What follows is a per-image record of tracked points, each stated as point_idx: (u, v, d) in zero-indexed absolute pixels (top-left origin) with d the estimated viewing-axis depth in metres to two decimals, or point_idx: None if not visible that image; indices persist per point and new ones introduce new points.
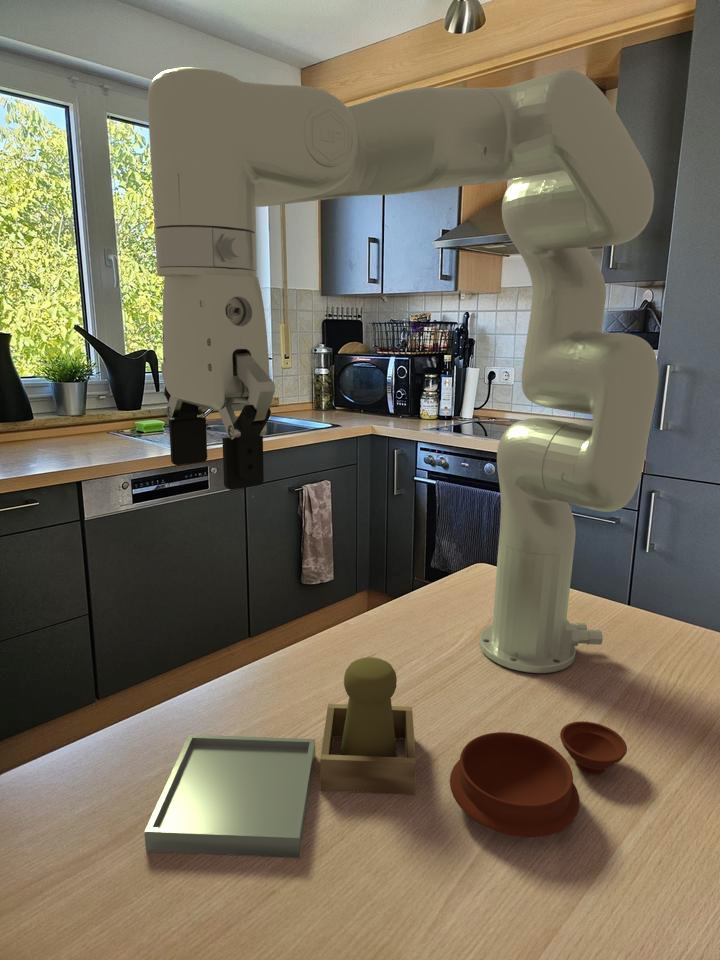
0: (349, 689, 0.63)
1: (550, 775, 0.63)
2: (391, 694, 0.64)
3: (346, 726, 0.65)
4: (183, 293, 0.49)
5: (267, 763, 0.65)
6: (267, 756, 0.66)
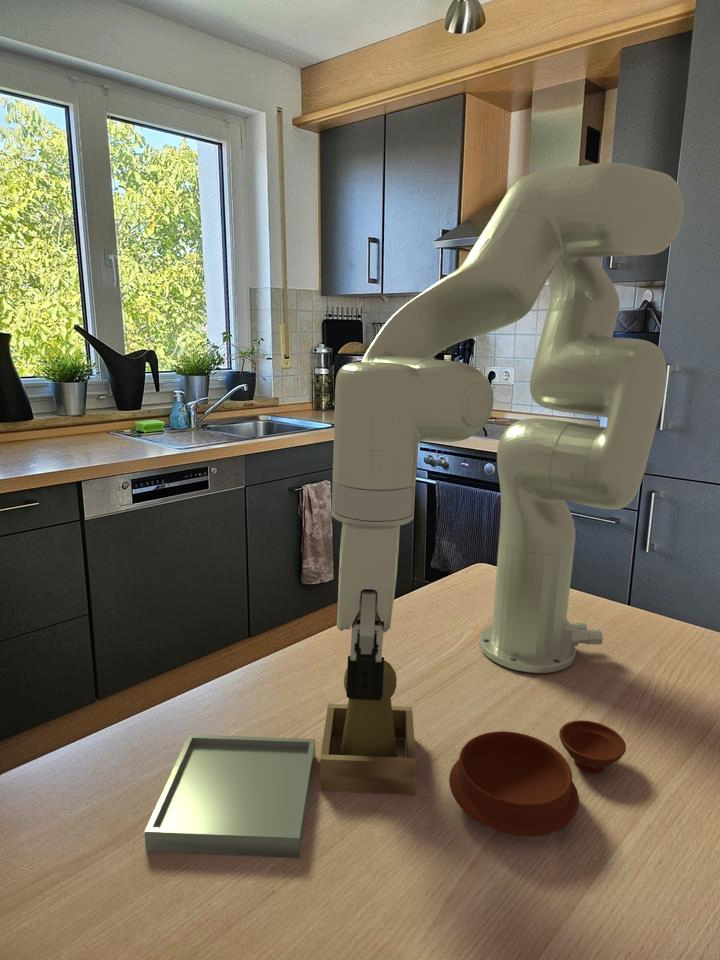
0: None
1: (549, 774, 0.63)
2: (391, 694, 0.64)
3: (346, 726, 0.65)
4: None
5: (267, 763, 0.65)
6: (267, 756, 0.66)
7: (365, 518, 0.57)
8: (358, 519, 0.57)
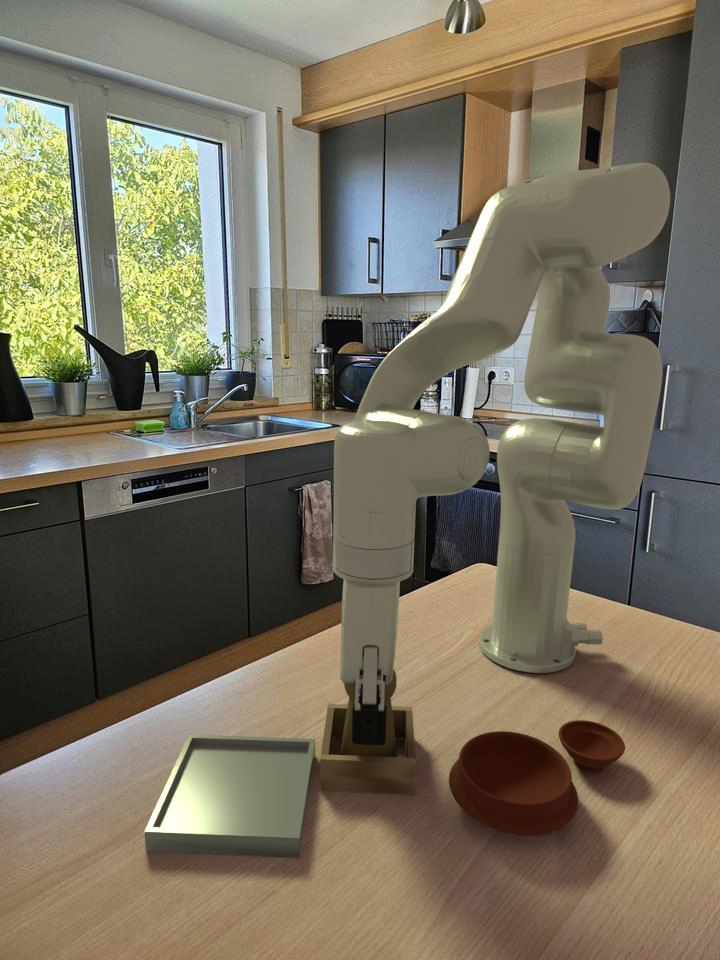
0: (349, 689, 0.63)
1: (549, 774, 0.63)
2: (391, 694, 0.64)
3: (346, 726, 0.65)
4: None
5: (267, 763, 0.65)
6: (267, 756, 0.66)
7: (366, 576, 0.58)
8: (359, 577, 0.58)
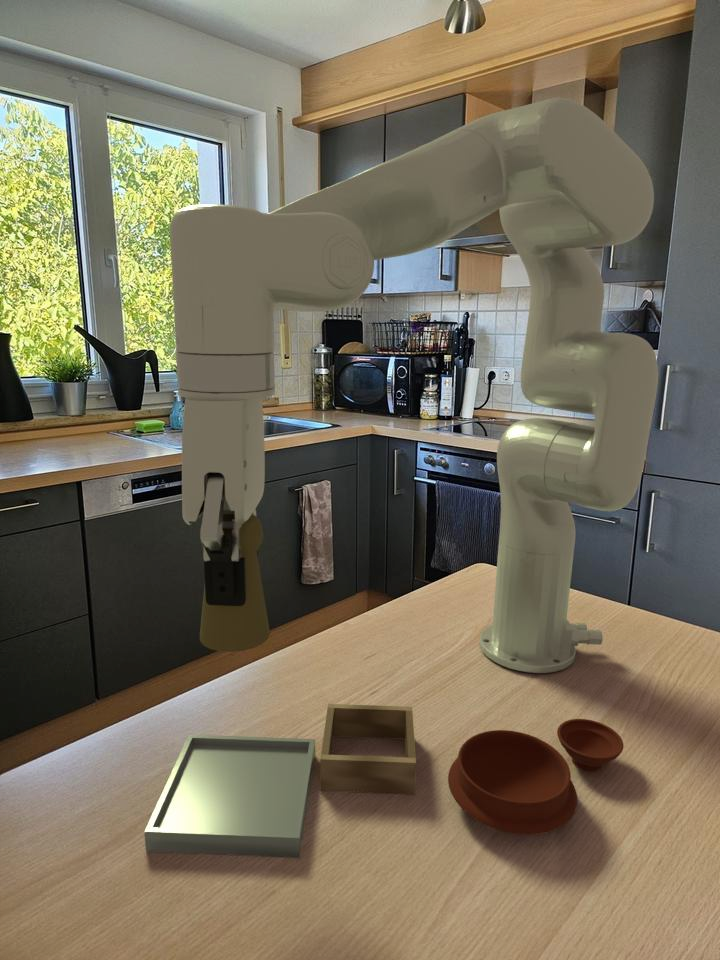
0: None
1: (548, 772, 0.63)
2: (253, 547, 0.54)
3: (204, 589, 0.56)
4: (261, 408, 0.53)
5: (267, 763, 0.65)
6: (267, 756, 0.66)
7: (207, 389, 0.49)
8: (200, 391, 0.49)
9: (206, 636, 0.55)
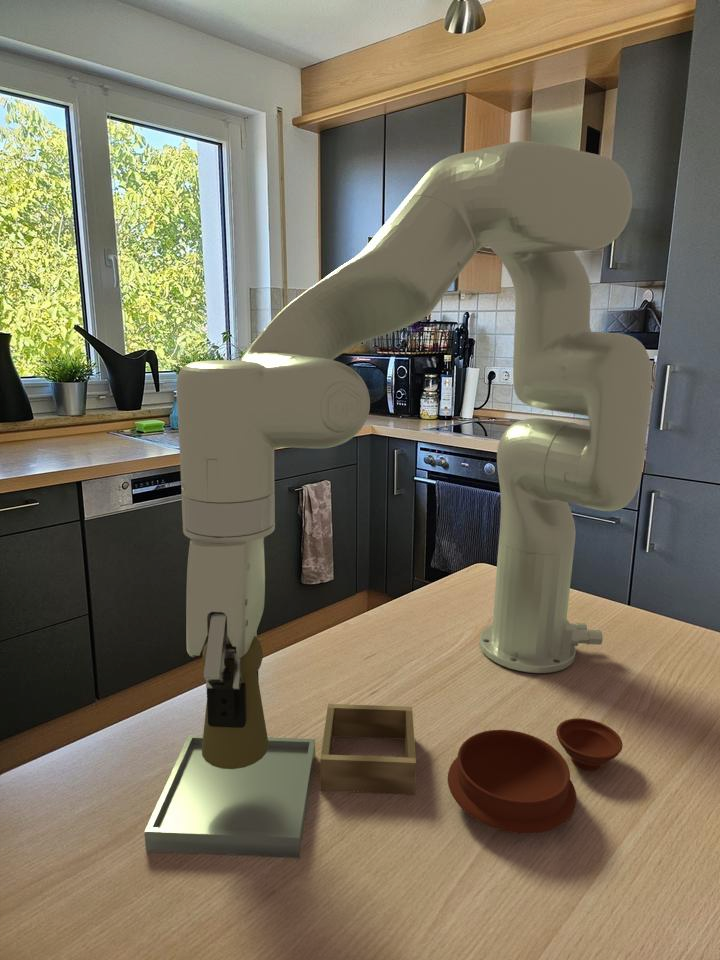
0: None
1: (547, 772, 0.63)
2: (253, 670, 0.57)
3: (206, 707, 0.58)
4: (261, 540, 0.56)
5: (267, 763, 0.65)
6: (267, 756, 0.66)
7: (211, 534, 0.51)
8: (204, 535, 0.51)
9: (208, 752, 0.58)
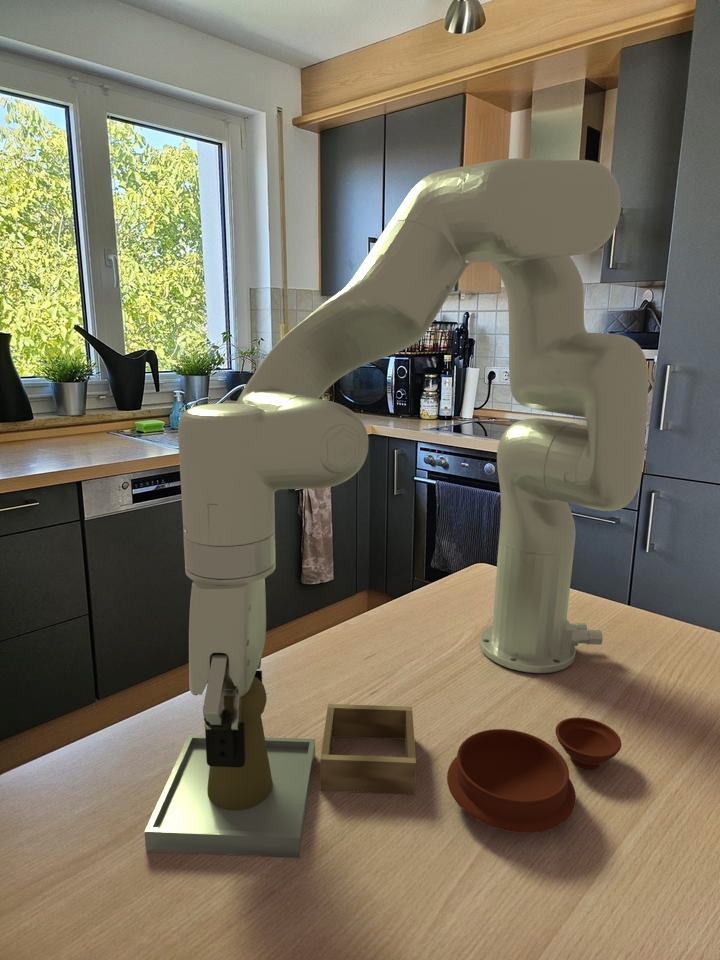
0: None
1: (546, 771, 0.63)
2: (257, 714, 0.58)
3: None
4: (262, 578, 0.57)
5: None
6: None
7: (213, 576, 0.52)
8: (206, 577, 0.52)
9: (214, 794, 0.59)
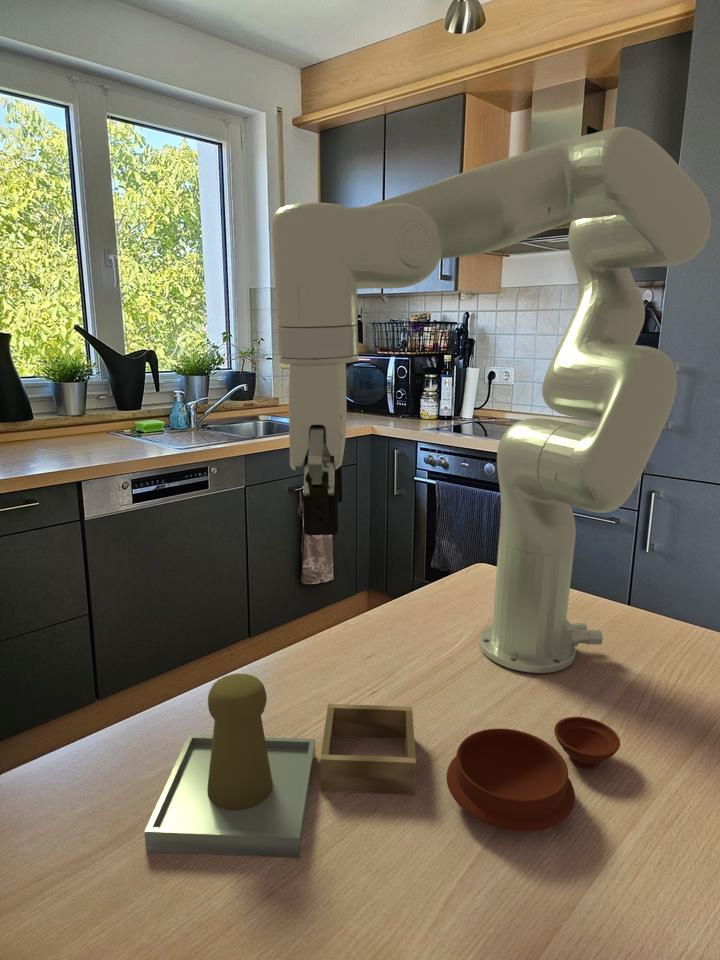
0: (211, 710, 0.58)
1: (545, 770, 0.63)
2: (258, 714, 0.58)
3: (212, 749, 0.60)
4: None
5: None
6: None
7: (309, 356, 0.59)
8: (302, 358, 0.59)
9: (214, 794, 0.59)
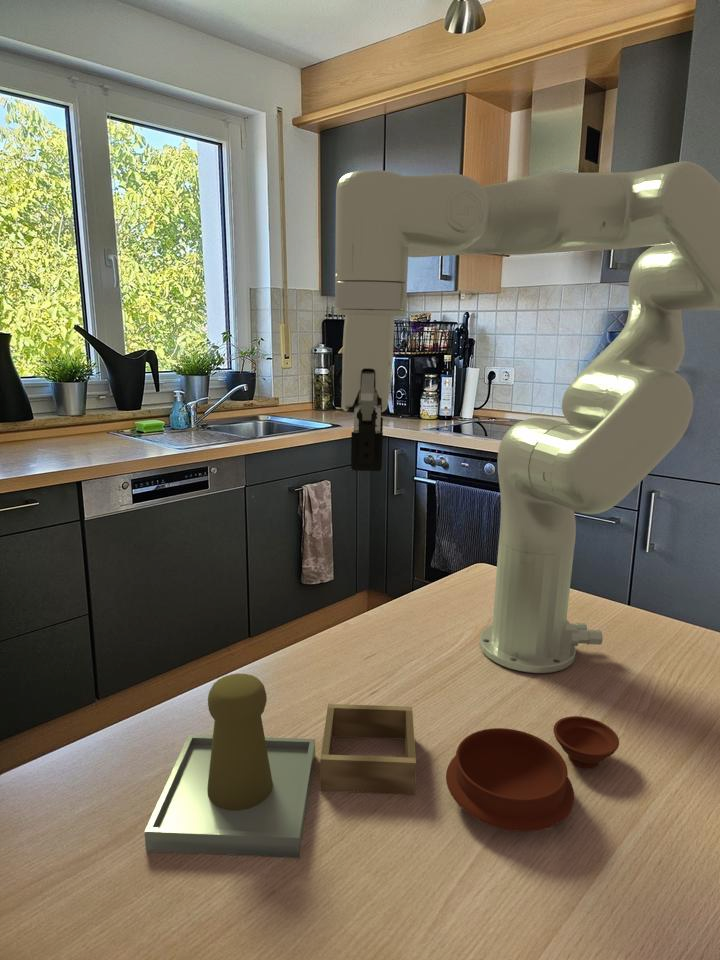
0: (211, 710, 0.58)
1: (545, 769, 0.64)
2: (258, 714, 0.58)
3: (212, 749, 0.60)
4: None
5: None
6: None
7: (364, 307, 0.66)
8: (358, 308, 0.66)
9: (214, 794, 0.59)
